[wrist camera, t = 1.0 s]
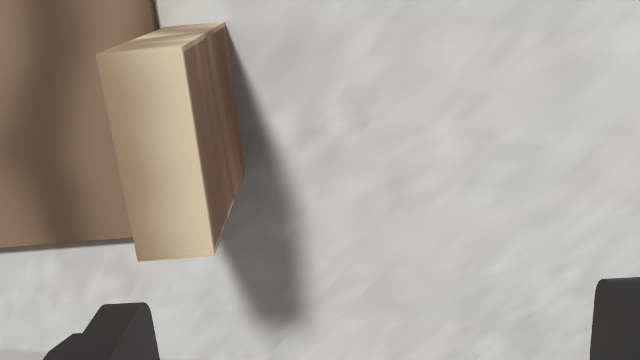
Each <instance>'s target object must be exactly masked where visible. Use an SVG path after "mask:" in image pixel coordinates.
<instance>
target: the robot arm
mask: <svg viewBox="0 0 640 360" xmlns="http://www.w3.org/2000/svg"><path fill="white" fill-rule="evenodd" d="M43 360H160V358H159V352H158V347H157V342H156V336H155V331H154V326H153V320H152V315H151V311H150V308H149V306H148V305H147V304H146V303H144V302H142V303H123V304H105V305H103V306H101V307H100V309H99V310H98V311H97V313H96V314H95V316H94V317H93V319H92V320H91V322H90V323H89V325H88V326H87V328H86V329H85V330H84V332H83V333H76V334H72V335H71V336H69V337H68V338H67V339H65V340H64V341H62V342H61V343H60V344H58V345H57V346H56V347H54V348H53V349H52V350H50V351H49V352H48V353H47V355H46V356H45V357H44V359H43ZM590 360H640V277H631V278H612V279H601V280H600V281H599V282H598V284H597V286H596V291H595V300H594V312H593V323H592V335H591V346H590Z"/></svg>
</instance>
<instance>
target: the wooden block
mask: <svg viewBox="0 0 640 360" xmlns="http://www.w3.org/2000/svg"><path fill="white" fill-rule="evenodd" d="M96 59H97V63H98V68H99V73H100V78H101V83H102V88H103V93H104V98H105V103H106V108H107V112H108V117H109V122H110V127H111V132H112V137H113V142H114V147H115V152H116V157H117V162H118V166H119V171H120V176H121V181H122V186H123V191H124V196H125V201H126V206H127V211H128V216H129V220H130V225H131V230H132V235H133V240H134V245H135V250H136V255H137V260H138V261H151V260H165V259H178V258H191V257H204V256H214V255H215V253H216V250H217V247H218V244H219V242H220V239H221V236H222V233H223V231H224V228H225V225H226V223H227V220H228V217H229V214H230V212H231V209H232V206H233V203H234V201H235V198H236V195H237V192H238V190H239V187H240V184H241V182H242V179H243V176H244V173H245V172H244V165H243V157H242V150H241V142H240V134H239V127H238V119H237V112H236V104H235V97H234V89H233V81H232V74H231V66H230V59H229V51H228V44H227V36H226V28H225V22H216V23H205V24H193V25H182V26H170V27H164V28H161V29H159V30H156V31H154V32H151V33H148V34H146V35H143V36H141V37H138V38H136V39H133V40H131V41H128V42H125V43H123V44H120V45H118V46H115V47H113V48H110V49H108V50H105V51H102V52H100V53H97V54H96Z"/></svg>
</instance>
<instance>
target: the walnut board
mask: <svg viewBox="0 0 640 360" xmlns="http://www.w3.org/2000/svg"><path fill="white" fill-rule="evenodd" d="M156 30H157V25H156V19H155V13H154V7H153V1H152V0H0V248H4V247H17V246H30V245H43V244H56V243H69V242H82V241H95V240H108V239H121V238H133V235H132V230H131V225H130V220H129V216H128V211H127V206H126V201H125V196H124V191H123V186H122V181H121V176H120V171H119V166H118V162H117V157H116V152H115V147H114V142H113V137H112V132H111V127H110V122H109V117H108V112H107V108H106V103H105V98H104V93H103V88H102V83H101V78H100V73H99V68H98V63H97V59H96V54H97V53H100V52H102V51H105V50H108V49H110V48H113V47H115V46H118V45H120V44H123V43H125V42H128V41H131V40H133V39H136V38H138V37H141V36H143V35H146V34H148V33H151V32H154V31H156Z"/></svg>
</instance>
